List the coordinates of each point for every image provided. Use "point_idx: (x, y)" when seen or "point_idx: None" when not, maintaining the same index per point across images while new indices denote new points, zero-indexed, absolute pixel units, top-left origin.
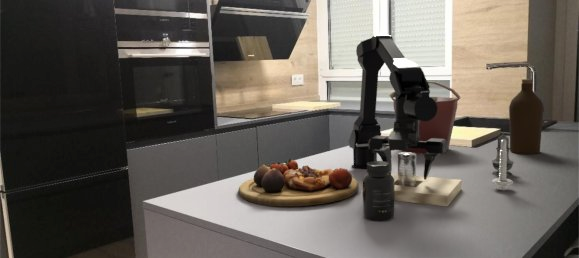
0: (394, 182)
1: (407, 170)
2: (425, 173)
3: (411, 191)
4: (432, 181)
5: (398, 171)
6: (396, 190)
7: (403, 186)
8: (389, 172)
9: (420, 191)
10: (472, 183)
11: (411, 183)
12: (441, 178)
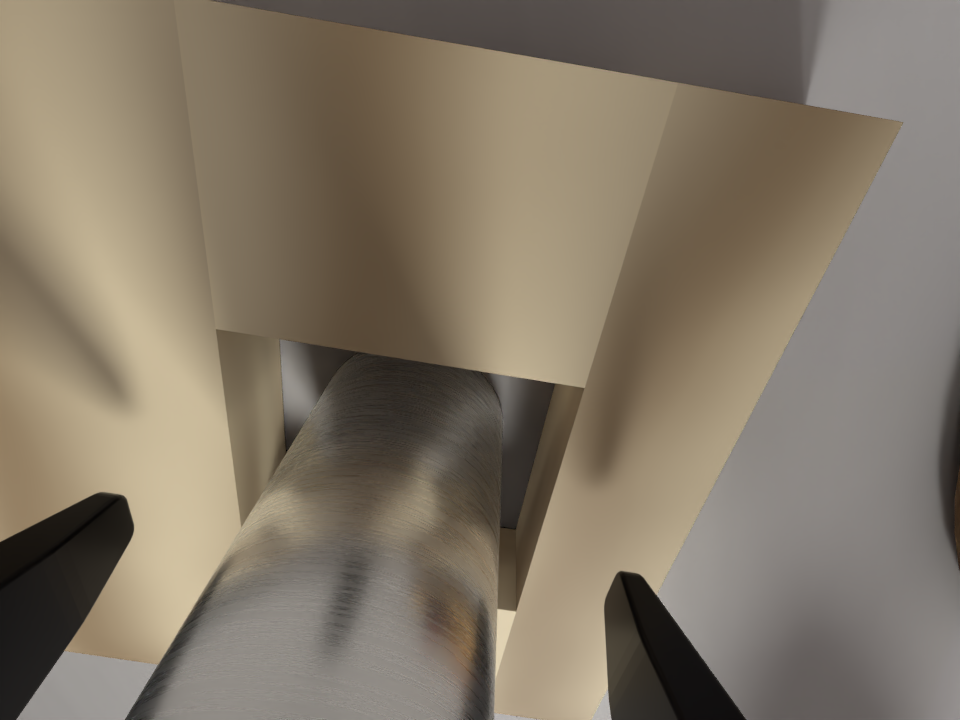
0: (546, 502)
1: (275, 584)
2: (11, 554)
3: (178, 48)
4: (157, 569)
5: (477, 604)
6: (446, 47)
7: (391, 328)
8: (634, 616)
9: (47, 89)
10: (49, 672)
11: (307, 433)
12: (131, 652)
